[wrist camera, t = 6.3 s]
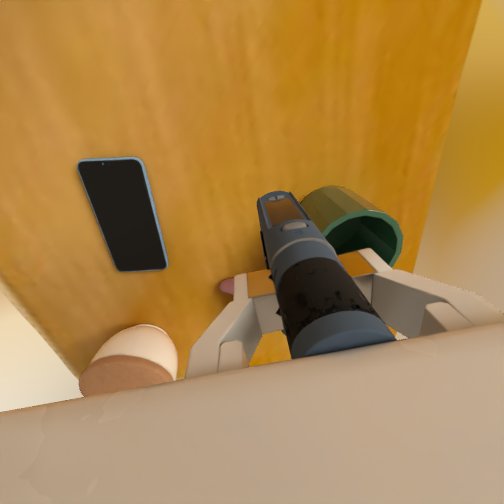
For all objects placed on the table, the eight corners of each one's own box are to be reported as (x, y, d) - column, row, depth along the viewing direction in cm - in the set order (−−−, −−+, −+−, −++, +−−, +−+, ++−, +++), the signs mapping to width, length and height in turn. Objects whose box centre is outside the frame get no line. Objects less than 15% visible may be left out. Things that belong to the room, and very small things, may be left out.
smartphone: (116, 273, 33) (71, 160, 26) (119, 270, 34) (76, 158, 26) (169, 270, 33) (140, 156, 26) (171, 267, 34) (143, 155, 26)
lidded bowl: (114, 360, 43) (80, 429, 34) (103, 309, 37) (57, 375, 28) (185, 363, 45) (171, 430, 35) (185, 314, 39) (168, 379, 29)
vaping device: (294, 182, 14) (458, 360, 4) (300, 256, 17) (407, 485, 6) (252, 190, 14) (295, 385, 4) (264, 262, 17) (310, 498, 6)
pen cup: (288, 194, 30) (307, 222, 22) (362, 178, 29) (407, 200, 21) (297, 255, 34) (315, 296, 26) (360, 242, 34) (398, 280, 26)
